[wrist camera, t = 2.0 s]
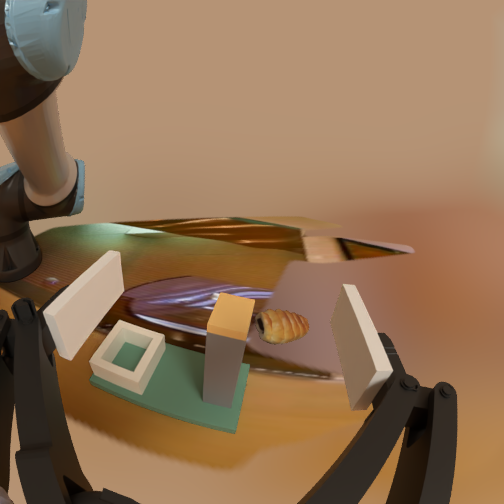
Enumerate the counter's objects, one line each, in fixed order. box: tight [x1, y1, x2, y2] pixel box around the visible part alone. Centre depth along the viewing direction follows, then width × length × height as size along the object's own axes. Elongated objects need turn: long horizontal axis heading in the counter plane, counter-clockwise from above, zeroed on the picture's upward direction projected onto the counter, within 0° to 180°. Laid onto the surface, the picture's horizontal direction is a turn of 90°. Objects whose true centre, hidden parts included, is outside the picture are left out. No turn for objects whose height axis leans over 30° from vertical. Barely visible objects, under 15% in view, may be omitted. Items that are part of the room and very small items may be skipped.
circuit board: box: [89, 342, 250, 434], centre depth 33 cm, size 20×11×1 cm, turn 82°
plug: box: [203, 293, 255, 408], centre depth 29 cm, size 4×5×14 cm
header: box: [89, 320, 166, 395], centre depth 32 cm, size 7×9×3 cm
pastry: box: [255, 309, 309, 344], centre depth 45 cm, size 9×7×4 cm
